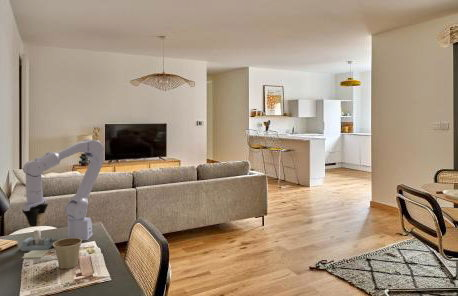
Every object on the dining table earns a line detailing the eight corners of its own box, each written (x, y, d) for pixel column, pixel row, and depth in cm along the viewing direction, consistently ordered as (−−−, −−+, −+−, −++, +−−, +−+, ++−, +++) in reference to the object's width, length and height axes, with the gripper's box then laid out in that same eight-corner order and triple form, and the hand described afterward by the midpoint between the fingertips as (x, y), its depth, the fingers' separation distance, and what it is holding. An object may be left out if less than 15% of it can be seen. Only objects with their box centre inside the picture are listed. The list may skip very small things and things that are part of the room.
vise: (61, 243, 147) (61, 227, 147) (54, 249, 140) (53, 232, 140) (30, 244, 146) (29, 228, 146) (21, 251, 140) (19, 233, 139)
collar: (45, 222, 145) (45, 213, 144) (39, 226, 140) (39, 216, 139) (33, 222, 144) (32, 213, 144) (27, 226, 139) (26, 216, 139)
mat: (49, 250, 139) (49, 249, 139) (41, 257, 132) (41, 256, 132) (31, 251, 139) (31, 250, 139) (22, 258, 132) (22, 257, 132)
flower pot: (89, 262, 127) (87, 238, 127) (69, 273, 119) (68, 248, 118) (68, 259, 130) (67, 236, 130) (47, 269, 122) (46, 245, 121)
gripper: (33, 187, 148) (35, 219, 149) (14, 194, 133) (16, 229, 135) (50, 187, 148) (52, 218, 149) (33, 194, 134) (35, 229, 135)
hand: (36, 224), depth 142 cm, fingers closed on collar, 5 cm apart
